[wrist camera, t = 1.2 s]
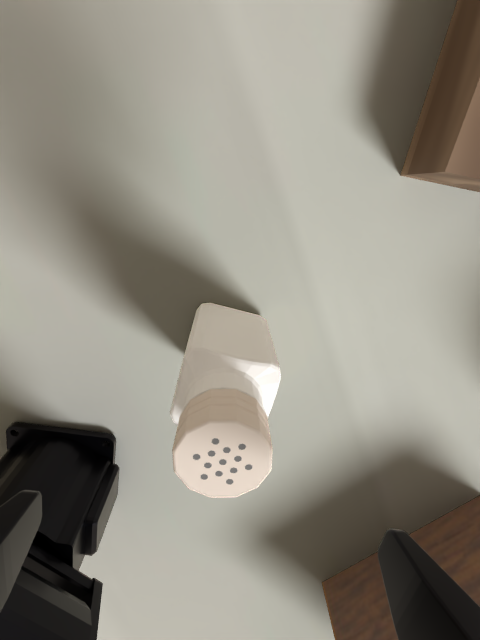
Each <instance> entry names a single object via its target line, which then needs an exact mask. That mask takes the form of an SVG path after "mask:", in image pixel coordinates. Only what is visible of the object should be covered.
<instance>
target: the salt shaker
mask: <svg viewBox="0 0 480 640" xmlns="http://www.w3.org/2000/svg"><path fill="white" fill-rule="evenodd" d="M280 380H281V374H280V366H279V362H278V359H277V355H276V352H275V348H274V345H273V341H272V338H271V334H270V331H269V327H268V323H267V320H266V319H264V318H263V317H262V316H260V315H257V314H253V313H249V312H245V311H241V310H237V309H233V308H229V307H226V306H222V305H218V304H214V303H202V304H201V305H200V306H199V308H198V309H197V310H196V314H195V318H194V321H193V325H192V329H191V332H190V336H189V339H188V343H187V347H186V350H185V354H184V358H183V362H182V366H181V370H180V374H179V378H178V382H177V386H176V390H175V394H174V398H173V402H172V406H171V410H170V415H171V418H172V420H173V422H174V423H175V424H177V425H178V427H177V431H176V436H175V441H174V445H173V450H172V452H173V465H174V472H175V473H176V475H177V476H178V477H179V478H180V479H181V480H182V482H183V483H184V484H185V485H186V486H187V488H188V489H190V490H193V491H195V492H198V493H200V494H203V495H205V496H207V497H210V498H229V497H238V496H240V495H242V494H244V493H247V492H249V491H251V490H253V489H256V488H258V486H259V485H260V484H261V483H262V481H263V480H264V479H265V478H266V476H267V475H268V474H269V473H270V471H271V470H272V453H273V448H272V442H271V436H270V430H269V425H268V416H269V413H270V411H271V408H272V405H273V402H274V399H275V396H276V393H277V390H278V386H279V383H280Z"/></svg>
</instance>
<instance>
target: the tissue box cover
mask: <svg viewBox="0 0 480 640" xmlns="http://www.w3.org/2000/svg"><path fill="white" fill-rule="evenodd" d="M409 535H410V536H411V537H412V538H413V539H414V540H415V541H416V543H417V544H418V545H419V546H420V547H421V548H422V549H423V550H424V551H425V552H426V553H427V554H428V555H429V556H430V557H431V558H432V559H433V560H434V561H435V562H436V563H437V564H438V565H439V566H440V567H441V568H442V569H443V570H444V571H445V572H446V573H447V574H448V575H449V576H450V577H451V578H452V579H453V580H454V581H455V582H456V583H457V584H458V585H459V586H460V587H461V588H462V589H463V590H464V591H465V592H466V593H467V594H468V595H469V596H470V597H471V598H472V599H473V600H474V601H475V602H476V603H477V604H478V605H479V606H480V496H478V497H476V498H474V499H472V500H471V501H469V502H467V503H465V504H463V505H462V506H460V507H458V508H456V509H454V510H453V511H451V512H449V513H447V514H445V515H443V516H442V517H440V518H438V519H436V520H434V521H433V522H431V523H429V524H427V525H425V526H424V527H422V528H420V529H418V530H416V531H414V532H413V533H411V534H409ZM322 585H323V590H324V594H325V598H326V603H327V607H328V611H329V615H330V620H331V624H332V628H333V633H334V637H335V640H398V637H397V634H396V630H395V627H394V623H393V619H392V616H391V611H390V607H389V603H388V599H387V594H386V590H385V586H384V582H383V577H382V573H381V569H380V565H379V560H378V552H376V553H375V554H373V555H371V556H369V557H367V558H366V559H364V560H362V561H360V562H358V563H356V564H355V565H353V566H351V567H349V568H347V569H346V570H344V571H342V572H340V573H338V574H337V575H335V576H333V577H331V578H329V579H327V580H326V581H324V582H322Z"/></svg>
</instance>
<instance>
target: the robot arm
mask: <svg viewBox="0 0 480 640" xmlns="http://www.w3.org/2000/svg"><path fill="white" fill-rule="evenodd" d="M15 430H17V431H18V432H17V431H15ZM6 438H7V450H8V451H7V452H6V453H5V454H4V456H3V457H2V458H1V459H0V640H96V639H97V630H98V621H99V612H100V603H101V594H102V585H103V584H102V582H100V581H98V580H97V579H95V578H93V579H91V578H89V577H88V576H86V575H85V574H83V573H81V572H80V571H79V568H80V566H81V563H82V561H83V558H84V556H85V555H90V556H92V555H93V554H94V553H95V552H96V551H97V549H98V546H99V544H100V541H101V538H102V536H103V533H104V530H105V527H106V525H107V522H108V519H109V516H110V514H111V511H112V508H113V506H114V503H115V500H116V497H117V494H118V480H119V467H118V465H117V464H115V450H116V438H115V437H114V436H113V435H112V434H108V433H100V432H92V431H84V430H76V429H68V428H60V427H52V426H44V425H36V424H28V423H20V422H14V423H12V424H11V425H10V426H9V427H8V428H7V430H6ZM105 441H108V442H109V443H106V442H105ZM378 560H379V565H380V569H381V573H382V577H383V582H384V586H385V590H386V594H387V599H388V603H389V607H390V611H391V616H392V619H393V623H394V627H395V630H396V634H397V637H398V640H480V606H479V605H478V604H477V603H476V602H475V601H474V600H473V599H472V598H471V597H470V596H469V595H468V594H467V593H466V592H465V591H464V590H463V589H462V588H461V587H460V586H459V585H458V584H457V583H456V582H455V581H454V580H453V579H452V578H451V577H450V576H449V575H448V574H447V573H446V572H445V571H444V570H443V569H442V568H441V567H440V566H439V565H438V564H437V563H436V562H435V561H434V560H433V559H432V558H431V557H430V556H429V555H428V554H427V553H426V552H425V551H424V550H423V549H422V548H421V547H420V546H419V545H418V544H417V543H416V541H415V540H414V539H413V538H412V537H411V536H410V535H409V534H408V533H406V532H405V531H404V530H401V529H388V530H387V531H386V533H385V535H384V537H383V539H382V541H381V543H380V545H379V548H378Z"/></svg>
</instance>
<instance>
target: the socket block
mask: <svg viewBox="0 0 480 640" xmlns="http://www.w3.org/2000/svg"><path fill="white" fill-rule="evenodd" d="M401 176H406V177H410V178H415V179H420V180H424V181H429V182H434V183H439V184H443V185H448V186H453V187H458V188H462V189H467V190H472V191H477V192H480V0H457V3H456V6H455V9H454V12H453V15H452V18H451V22H450V25H449V28H448V31H447V34H446V37H445V40H444V43H443V46H442V49H441V52H440V55H439V58H438V61H437V64H436V67H435V71H434V74H433V77H432V80H431V83H430V86H429V89H428V92H427V95H426V98H425V101H424V104H423V107H422V110H421V113H420V116H419V120H418V123H417V126H416V129H415V132H414V135H413V138H412V141H411V144H410V147H409V150H408V153H407V156H406V159H405V162H404V165H403V169H402V172H401Z"/></svg>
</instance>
